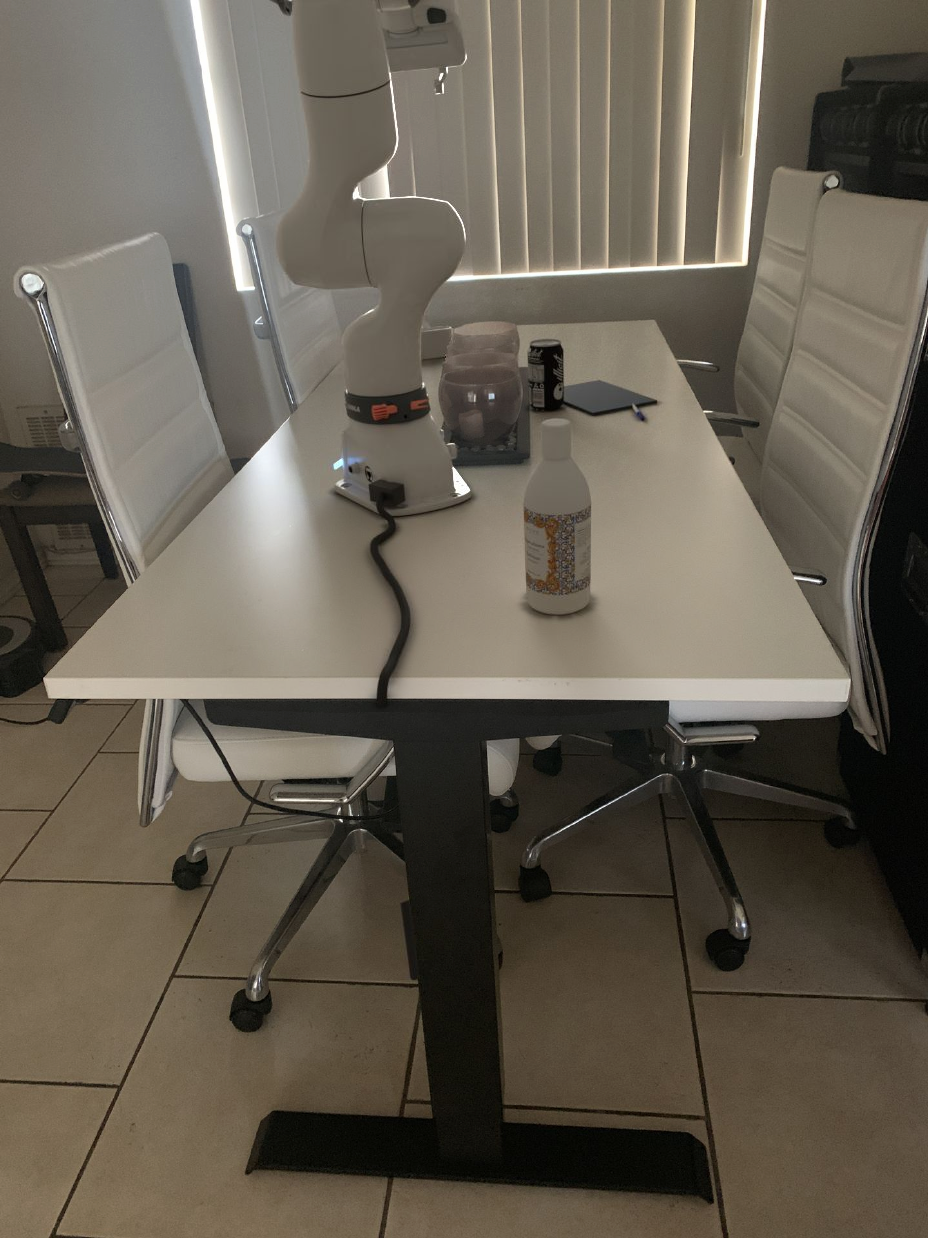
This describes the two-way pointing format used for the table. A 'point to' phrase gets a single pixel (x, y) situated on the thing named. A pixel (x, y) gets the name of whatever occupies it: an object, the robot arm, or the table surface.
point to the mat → (602, 397)
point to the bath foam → (557, 527)
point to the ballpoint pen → (638, 412)
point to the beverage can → (546, 374)
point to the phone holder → (434, 340)
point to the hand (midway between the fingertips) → (413, 94)
